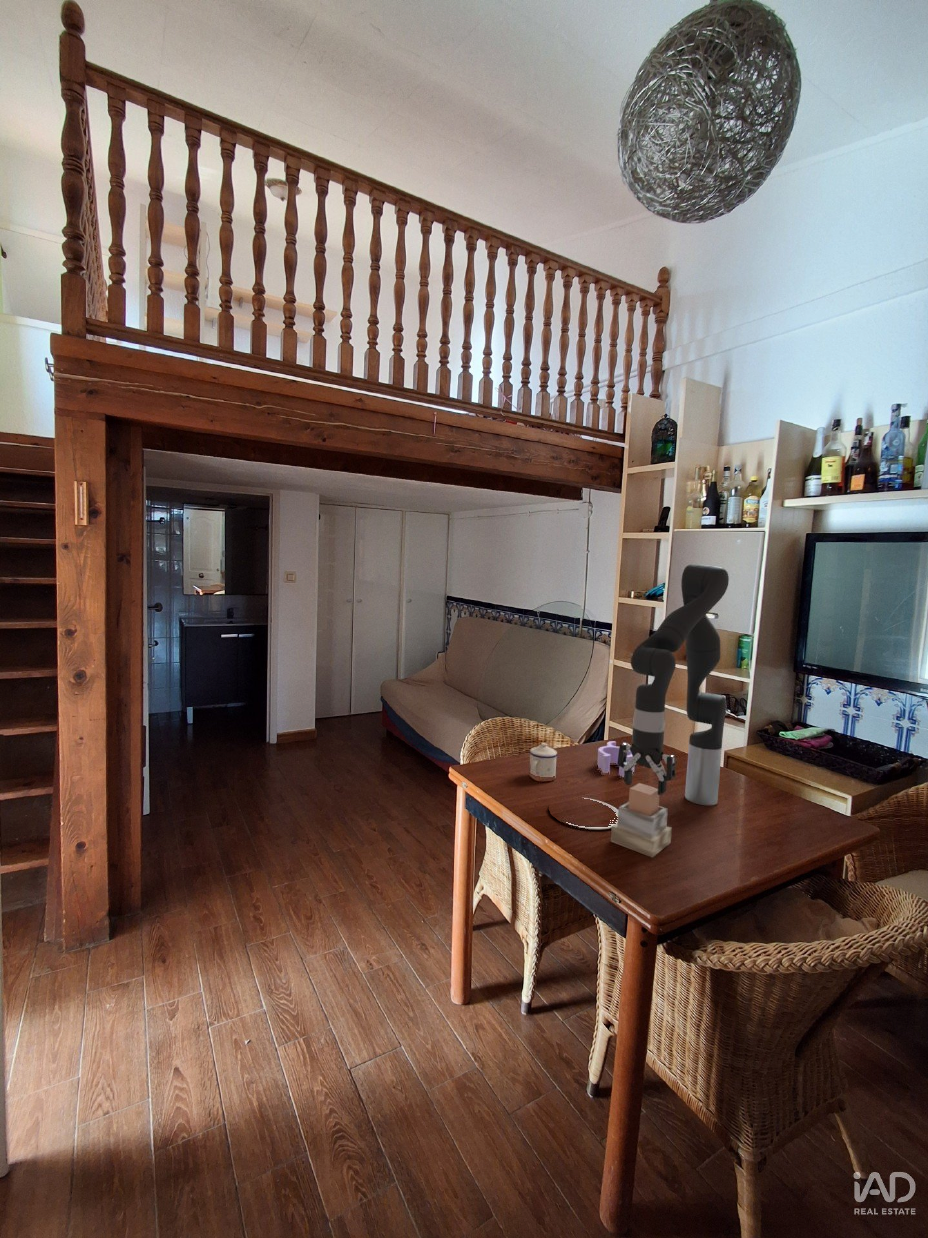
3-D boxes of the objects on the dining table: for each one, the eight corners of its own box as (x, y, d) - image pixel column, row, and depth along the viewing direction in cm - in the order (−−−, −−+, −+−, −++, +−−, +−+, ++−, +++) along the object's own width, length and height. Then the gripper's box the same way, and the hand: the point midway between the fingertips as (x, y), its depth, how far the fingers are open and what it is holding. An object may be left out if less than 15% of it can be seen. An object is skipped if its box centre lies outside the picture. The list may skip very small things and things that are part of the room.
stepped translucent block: (630, 828, 150) (632, 795, 149) (670, 843, 142) (673, 808, 142) (610, 841, 142) (613, 807, 141) (652, 857, 134) (655, 821, 134)
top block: (637, 805, 145) (639, 783, 145) (658, 812, 141) (659, 789, 141) (628, 811, 141) (629, 788, 141) (648, 818, 137) (650, 794, 137)
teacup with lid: (535, 771, 191) (537, 737, 190) (560, 777, 186) (562, 743, 185) (519, 781, 181) (521, 746, 180) (544, 788, 176) (547, 751, 175)
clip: (601, 757, 210) (602, 739, 209) (635, 762, 205) (636, 744, 205) (594, 774, 191) (595, 754, 190) (632, 780, 187) (633, 760, 186)
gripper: (682, 730, 138) (677, 793, 139) (628, 718, 147) (624, 777, 149) (670, 736, 132) (665, 802, 134) (615, 723, 142) (611, 785, 143)
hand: (644, 789), depth 141 cm, fingers open, 8 cm apart
